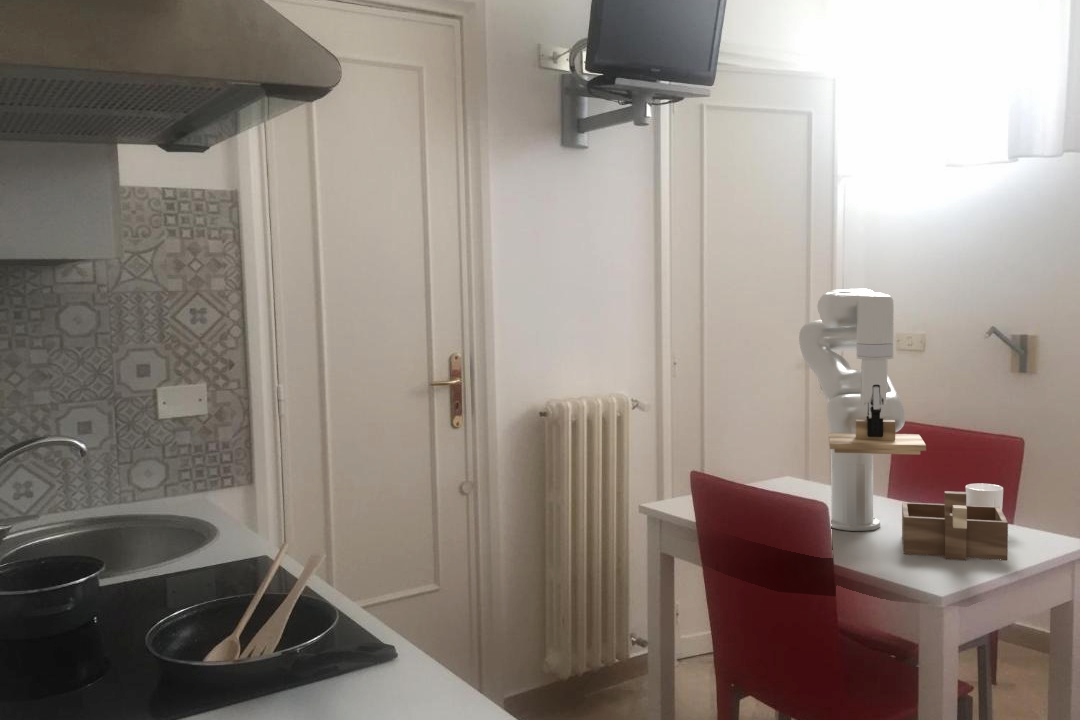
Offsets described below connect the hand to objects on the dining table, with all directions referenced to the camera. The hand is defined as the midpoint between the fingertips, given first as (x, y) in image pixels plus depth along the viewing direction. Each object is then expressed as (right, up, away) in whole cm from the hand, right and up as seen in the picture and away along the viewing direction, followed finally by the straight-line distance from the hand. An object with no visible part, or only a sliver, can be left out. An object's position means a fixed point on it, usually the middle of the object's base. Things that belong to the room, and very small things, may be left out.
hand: (874, 434), depth 203 cm
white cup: (+30, -23, +13) cm, 40 cm away
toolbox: (+17, -25, -1) cm, 30 cm away
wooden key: (+11, -16, -16) cm, 26 cm away
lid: (0, -3, 0) cm, 3 cm away
